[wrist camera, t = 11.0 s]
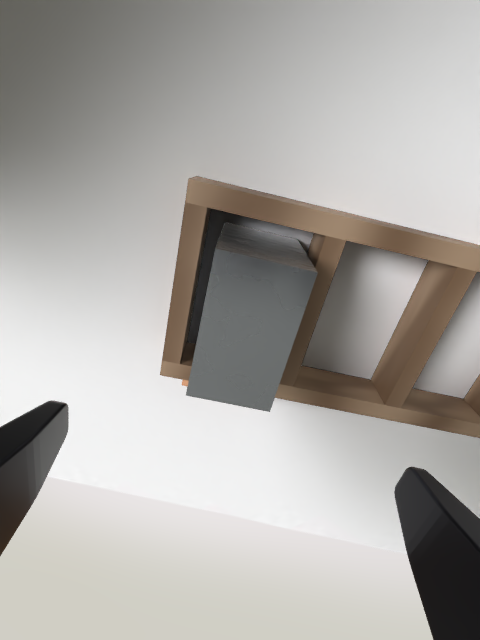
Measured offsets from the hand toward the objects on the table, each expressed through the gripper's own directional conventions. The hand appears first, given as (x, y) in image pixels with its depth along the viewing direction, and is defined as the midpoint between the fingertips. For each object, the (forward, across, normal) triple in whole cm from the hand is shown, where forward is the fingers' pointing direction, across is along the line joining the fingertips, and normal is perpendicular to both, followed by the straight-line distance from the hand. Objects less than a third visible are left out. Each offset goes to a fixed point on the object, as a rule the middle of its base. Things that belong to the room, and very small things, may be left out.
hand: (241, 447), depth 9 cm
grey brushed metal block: (+12, 0, 0) cm, 12 cm away
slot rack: (+12, -7, 0) cm, 14 cm away
